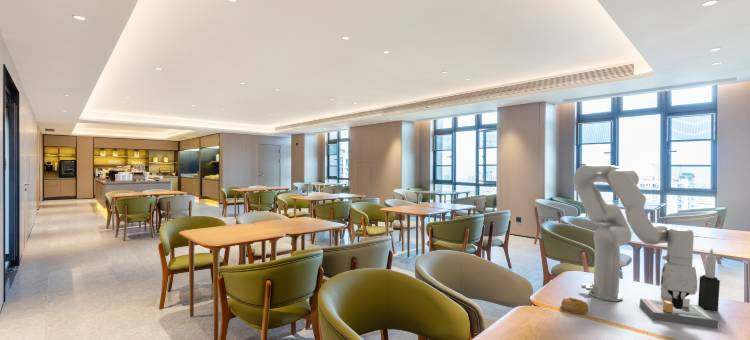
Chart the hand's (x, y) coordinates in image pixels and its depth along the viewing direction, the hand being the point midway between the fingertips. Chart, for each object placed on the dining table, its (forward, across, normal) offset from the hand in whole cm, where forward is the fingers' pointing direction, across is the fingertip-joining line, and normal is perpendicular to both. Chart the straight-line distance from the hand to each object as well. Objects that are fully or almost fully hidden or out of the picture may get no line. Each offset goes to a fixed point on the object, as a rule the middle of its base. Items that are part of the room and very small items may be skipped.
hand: (676, 307), depth 141 cm
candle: (+5, +18, +18) cm, 25 cm away
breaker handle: (+2, -3, 0) cm, 3 cm away
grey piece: (+5, +8, +25) cm, 26 cm away
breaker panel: (+5, +2, +4) cm, 7 cm away
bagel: (+5, -35, -3) cm, 36 cm away
